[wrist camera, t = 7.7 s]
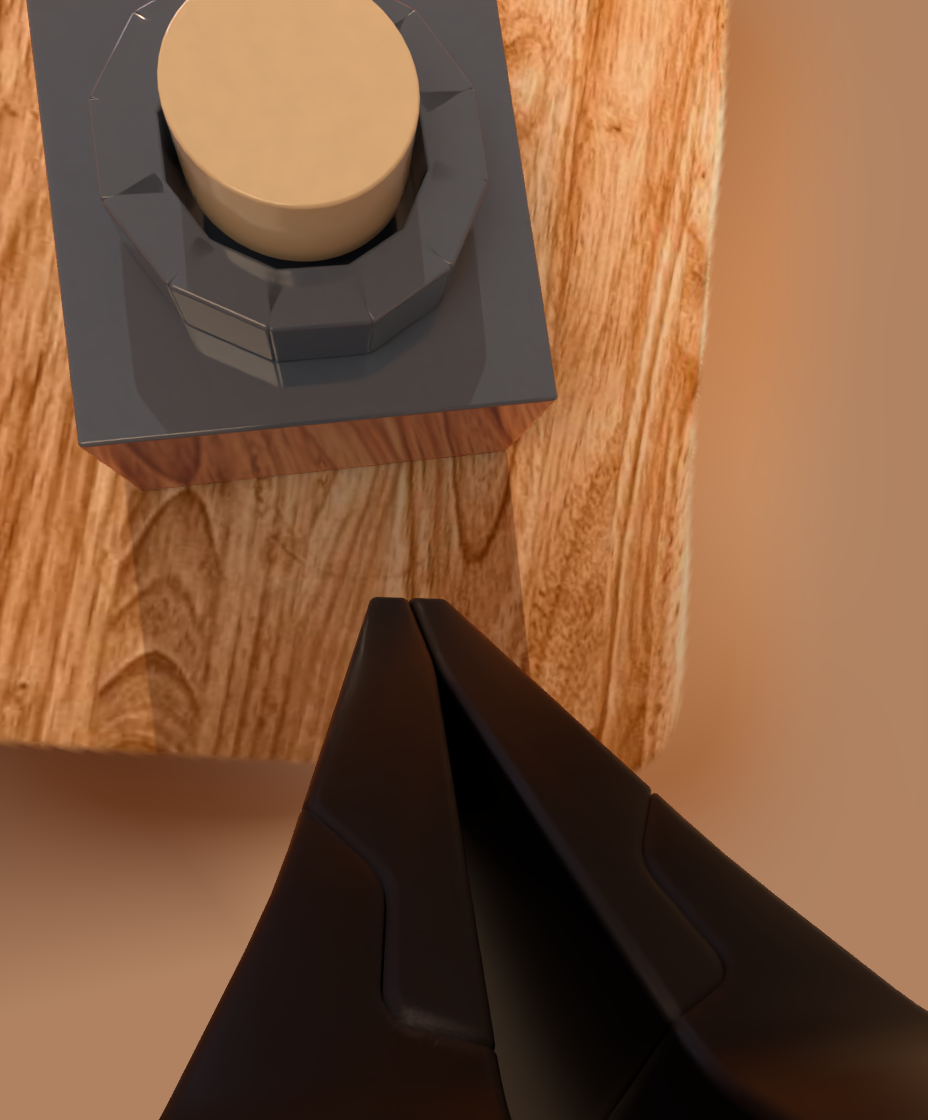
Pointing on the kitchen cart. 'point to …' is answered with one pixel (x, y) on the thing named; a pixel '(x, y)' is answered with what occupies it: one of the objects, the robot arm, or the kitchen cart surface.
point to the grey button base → (287, 273)
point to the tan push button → (291, 120)
